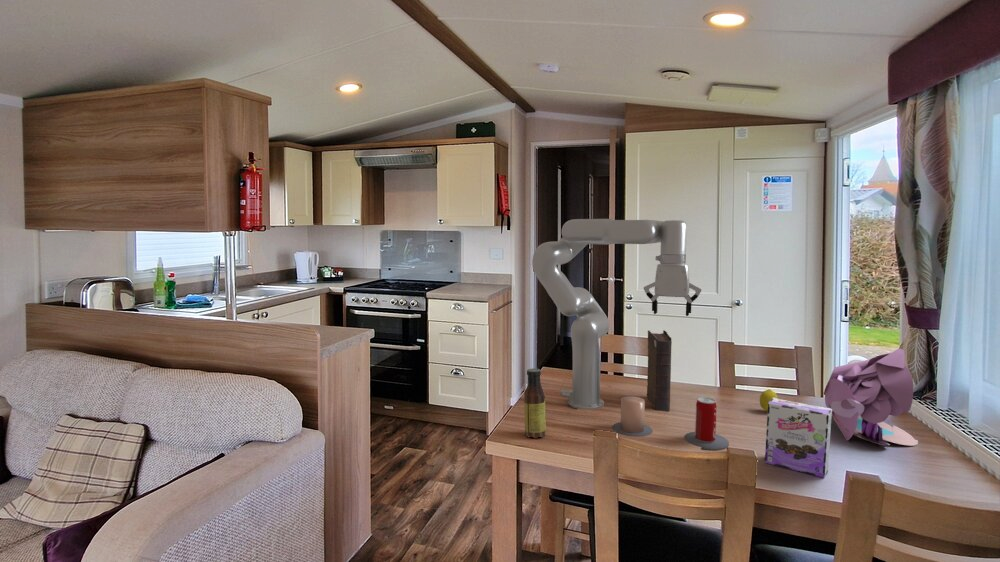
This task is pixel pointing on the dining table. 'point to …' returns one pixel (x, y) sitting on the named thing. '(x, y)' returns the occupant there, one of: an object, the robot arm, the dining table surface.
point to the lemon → (767, 398)
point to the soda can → (705, 419)
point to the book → (659, 370)
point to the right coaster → (716, 445)
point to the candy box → (798, 436)
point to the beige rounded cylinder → (632, 414)
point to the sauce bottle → (534, 405)
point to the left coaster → (646, 432)
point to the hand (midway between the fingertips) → (671, 314)
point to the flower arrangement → (871, 398)
